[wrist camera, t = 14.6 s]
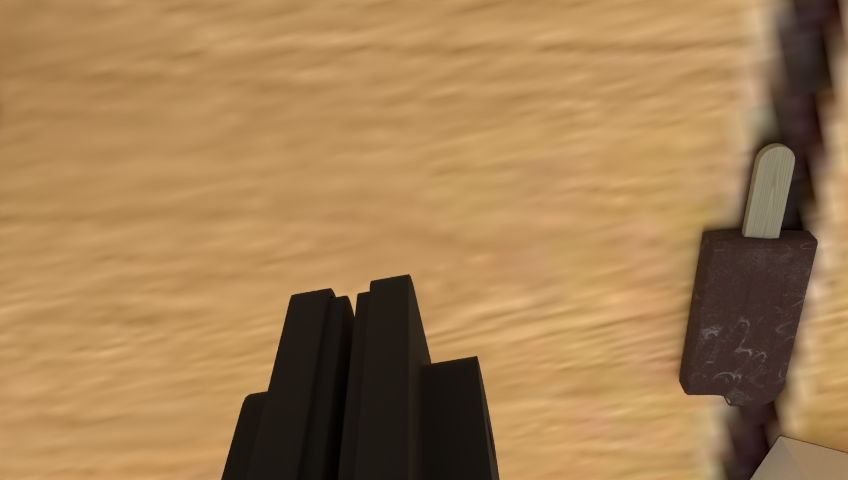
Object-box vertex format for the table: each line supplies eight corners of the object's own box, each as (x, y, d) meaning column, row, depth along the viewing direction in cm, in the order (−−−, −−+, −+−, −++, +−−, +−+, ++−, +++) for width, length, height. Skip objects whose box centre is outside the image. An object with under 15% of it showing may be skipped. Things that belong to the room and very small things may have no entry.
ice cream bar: (716, 139, 39) (675, 390, 46) (728, 152, 37) (684, 409, 44) (826, 137, 39) (768, 388, 46) (842, 150, 37) (780, 407, 44)
